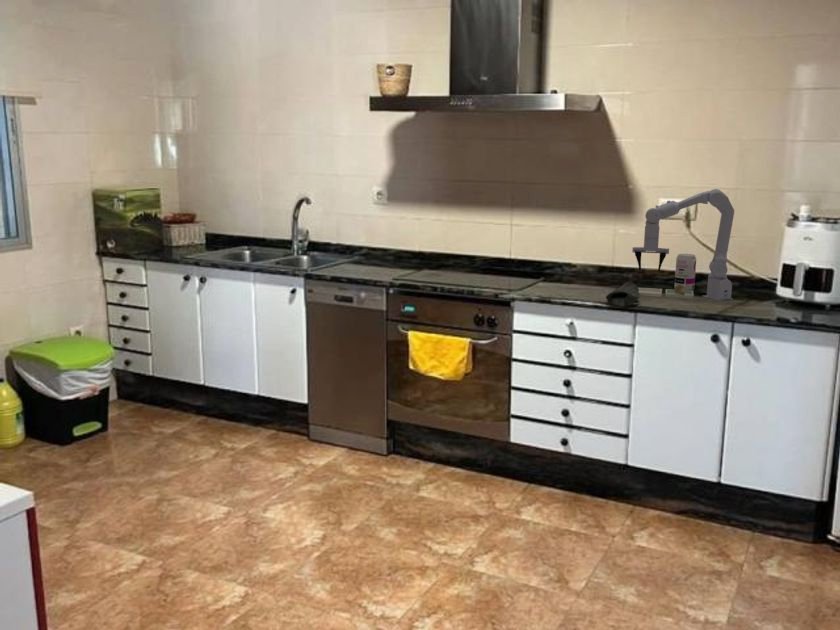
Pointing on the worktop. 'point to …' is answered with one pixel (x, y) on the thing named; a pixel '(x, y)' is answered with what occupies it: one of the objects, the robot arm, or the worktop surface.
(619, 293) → the dark grey rubber slipper
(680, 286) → the letter cube
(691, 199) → the robot arm
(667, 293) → the sage tray
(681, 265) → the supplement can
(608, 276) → the worktop surface
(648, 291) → the white tray
